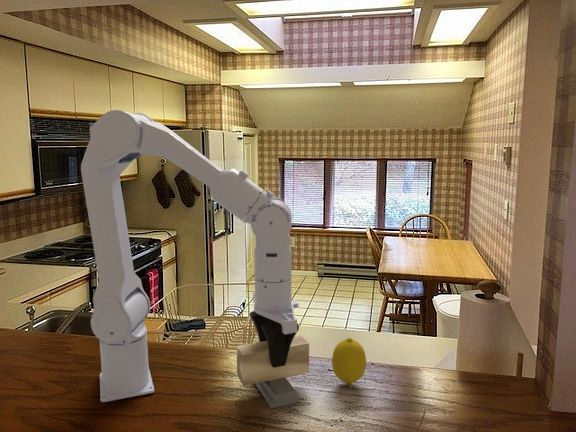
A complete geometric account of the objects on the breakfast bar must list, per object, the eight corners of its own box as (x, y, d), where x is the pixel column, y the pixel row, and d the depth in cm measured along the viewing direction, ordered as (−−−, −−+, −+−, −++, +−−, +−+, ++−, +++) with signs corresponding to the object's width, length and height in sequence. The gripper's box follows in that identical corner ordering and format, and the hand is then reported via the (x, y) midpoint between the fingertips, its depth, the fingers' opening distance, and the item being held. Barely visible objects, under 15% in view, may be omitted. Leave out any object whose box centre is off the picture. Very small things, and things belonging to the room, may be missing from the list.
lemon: (324, 382, 80) (325, 336, 79) (349, 372, 83) (349, 328, 82) (348, 396, 75) (349, 348, 74) (372, 385, 79) (373, 339, 77)
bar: (237, 375, 77) (236, 345, 76) (300, 363, 81) (300, 335, 80) (243, 385, 73) (242, 355, 73) (309, 372, 78) (309, 343, 77)
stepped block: (251, 378, 81) (251, 363, 81) (276, 373, 83) (276, 358, 83) (271, 408, 72) (271, 391, 72) (299, 402, 74) (299, 386, 73)
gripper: (316, 287, 69) (315, 375, 72) (280, 263, 83) (280, 338, 85) (270, 293, 67) (271, 384, 69) (240, 268, 80) (242, 345, 82)
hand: (273, 359), depth 77 cm, fingers open, 4 cm apart
